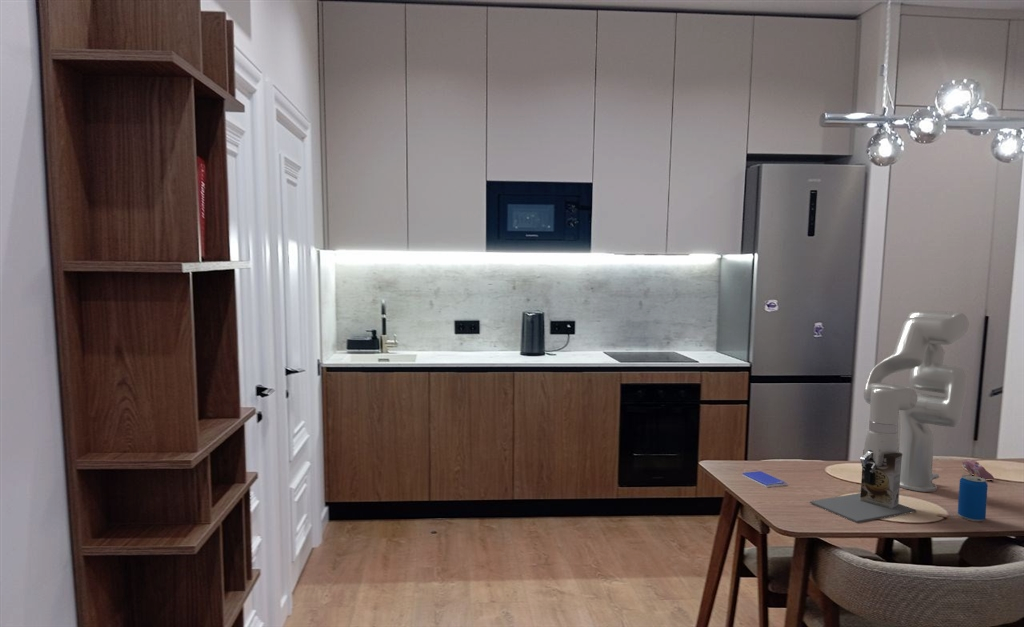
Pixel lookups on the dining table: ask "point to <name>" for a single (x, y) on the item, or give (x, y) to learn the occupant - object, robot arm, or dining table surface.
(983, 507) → the beverage can
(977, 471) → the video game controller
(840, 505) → the gray mat
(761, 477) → the hard drive
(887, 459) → the coffee box
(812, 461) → the dining table surface
